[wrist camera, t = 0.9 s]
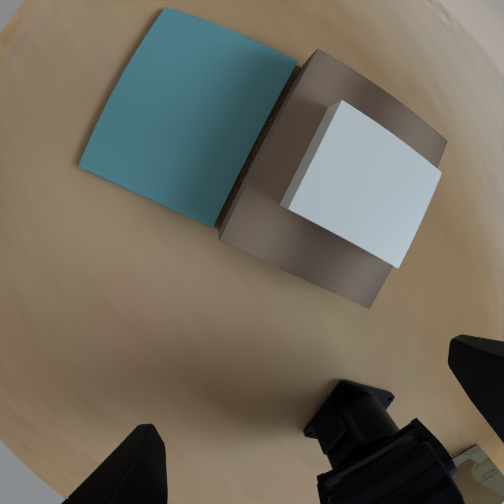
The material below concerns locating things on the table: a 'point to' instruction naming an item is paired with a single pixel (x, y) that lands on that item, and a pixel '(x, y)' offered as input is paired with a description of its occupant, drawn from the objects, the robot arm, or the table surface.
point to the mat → (187, 114)
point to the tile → (362, 184)
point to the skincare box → (478, 478)
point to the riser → (285, 166)
